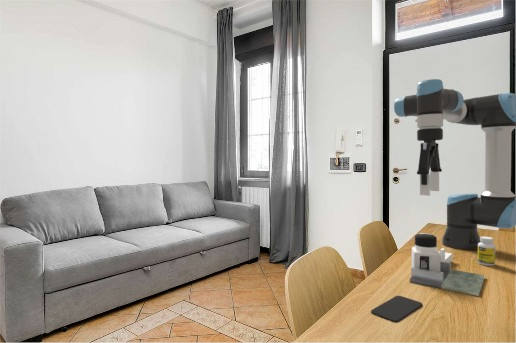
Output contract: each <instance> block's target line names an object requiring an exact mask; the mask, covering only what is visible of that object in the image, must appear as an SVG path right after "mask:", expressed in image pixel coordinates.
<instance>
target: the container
mask: <svg viewBox="0 0 516 343" xmlns="http://www.w3.org/2000/svg"><path fill="white" fill-rule="evenodd" d="M437 244H438V243H437V237H436V236H435V235H434V234H432V233H431V234H430V233H426V232H425V233H424V232H423V233H421V232H420V233H417V234H415V235H414V246H411V268H412V267H417V268H422V269H428V270H433V271H439V272H440V257H441V255H440V253H439V252H438V251H439V250H438V249H437V248H438V247H437Z"/></svg>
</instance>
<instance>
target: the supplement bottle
mask: <svg viewBox="0 0 516 343" xmlns="http://www.w3.org/2000/svg"><path fill="white" fill-rule="evenodd" d="M480 241H481V242H480V243H478V249H477V258H476V259H477V263H478V264H479V265H482V266H487V267H488V266H489V267H490V266H491V267H493V266H495V264H496V245H495V244H494V238H493V237H490V236H480Z"/></svg>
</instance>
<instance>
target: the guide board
mask: <svg viewBox="0 0 516 343" xmlns="http://www.w3.org/2000/svg"><path fill="white" fill-rule="evenodd" d="M451 262H452V261H451ZM451 262H446V261H440V272H439V271H433V270H428V269H422V268H417V267H412V266H411V269H410V270H411V273H410V274H411V275H410V278H409V282H410V283H413V284H418V285H423V286H427V287H433V288H437V289H442V290H447V291H451V292H456V293H462V294H466V295H470V296H476V297H479V296H480V293H481V291H482V287H483V284H484V281H485V277H486V276H485V274H480V273H474V272H468V271H462V270H457V269H452V268H451V266H452V265H451Z"/></svg>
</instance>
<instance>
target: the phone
mask: <svg viewBox="0 0 516 343" xmlns="http://www.w3.org/2000/svg"><path fill="white" fill-rule="evenodd" d="M422 307H423V303H422V302H420V301H418V300H415V299H412V298H408V297H405V296H402V295H396V296H394V297H392V298H389V300H387V301H385V302H384V303H382V304H380V305H378V306H376V307H375V308H374V307H373V309H371V311H370V313H371V314H372V315H373V316H376V315H377V317H380V318H382V319H385V320H387V321H390V322H393V323H399V322H400V321H402V320H403V319H405V318H406V317H408V316H409V315H411V314H412V313H414V312H416V311H417V310H419V309H420V308H422Z"/></svg>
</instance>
